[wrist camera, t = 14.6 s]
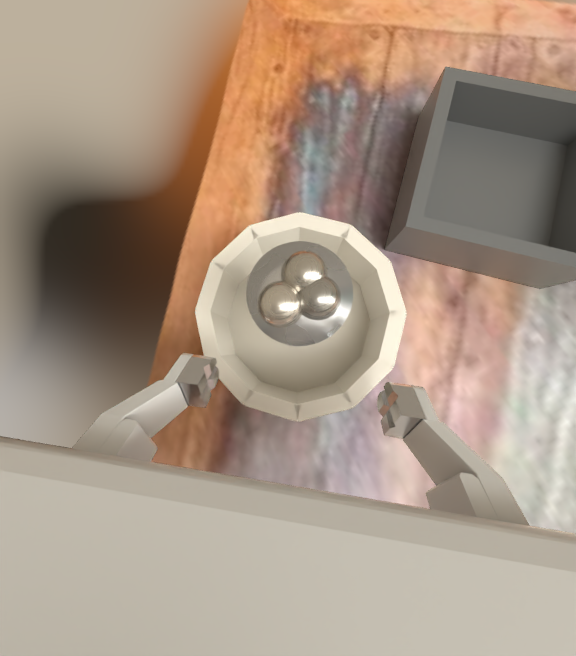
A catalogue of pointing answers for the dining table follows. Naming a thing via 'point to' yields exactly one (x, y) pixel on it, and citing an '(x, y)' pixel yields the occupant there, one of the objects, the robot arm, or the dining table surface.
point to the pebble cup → (299, 293)
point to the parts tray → (492, 180)
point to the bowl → (312, 360)
